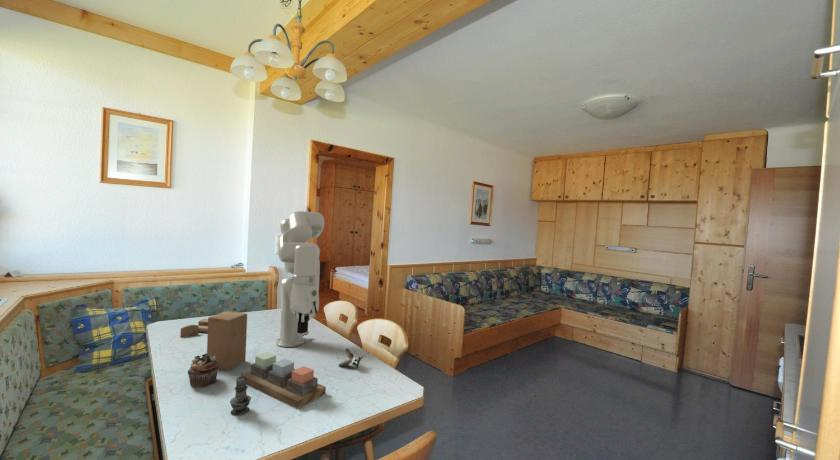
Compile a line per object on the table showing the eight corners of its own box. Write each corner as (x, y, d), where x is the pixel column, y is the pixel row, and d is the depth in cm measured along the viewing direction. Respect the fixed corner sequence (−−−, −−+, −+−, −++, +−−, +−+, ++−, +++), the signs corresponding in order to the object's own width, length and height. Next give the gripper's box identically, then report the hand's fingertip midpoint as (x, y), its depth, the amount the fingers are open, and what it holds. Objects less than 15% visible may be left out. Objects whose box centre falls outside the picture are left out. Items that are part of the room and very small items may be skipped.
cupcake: (225, 378, 128) (226, 352, 127) (202, 391, 118) (203, 362, 118) (204, 374, 130) (205, 348, 130) (180, 386, 121) (181, 357, 121)
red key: (303, 377, 122) (303, 366, 122) (313, 381, 119) (313, 369, 119) (291, 382, 118) (291, 371, 117) (301, 387, 115) (302, 375, 115)
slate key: (284, 369, 127) (284, 358, 127) (293, 373, 124) (294, 362, 124) (272, 374, 123) (272, 363, 122) (281, 378, 120) (282, 367, 120)
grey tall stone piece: (234, 405, 111) (236, 368, 110) (253, 406, 111) (255, 369, 111) (225, 416, 105) (227, 377, 104) (246, 416, 105) (247, 377, 105)
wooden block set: (202, 316, 182) (235, 319, 181) (202, 327, 182) (235, 329, 181) (178, 326, 165) (215, 329, 164) (178, 338, 165) (214, 341, 164)
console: (270, 370, 136) (271, 355, 136) (325, 393, 121) (326, 376, 121) (241, 381, 126) (241, 365, 126) (297, 409, 111) (298, 390, 111)
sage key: (267, 362, 132) (267, 352, 132) (275, 365, 129) (276, 355, 129) (254, 366, 128) (255, 356, 128) (263, 370, 125) (264, 359, 125)
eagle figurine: (364, 360, 148) (346, 353, 151) (363, 350, 144) (344, 343, 146) (355, 376, 142) (336, 368, 145) (353, 366, 138) (334, 358, 141)
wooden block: (227, 371, 134) (229, 319, 133) (205, 367, 136) (207, 317, 135) (245, 361, 143) (247, 313, 143) (224, 357, 145) (226, 310, 145)
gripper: (328, 281, 121) (325, 334, 121) (299, 276, 128) (296, 325, 128) (311, 284, 114) (308, 339, 114) (281, 278, 122) (279, 330, 122)
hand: (302, 332), depth 121 cm, fingers closed
